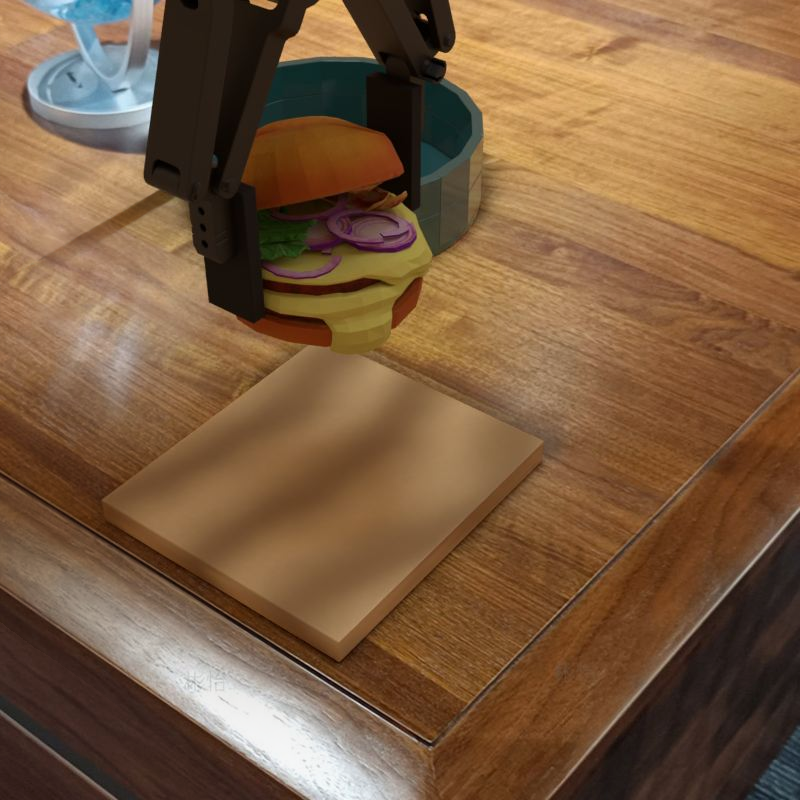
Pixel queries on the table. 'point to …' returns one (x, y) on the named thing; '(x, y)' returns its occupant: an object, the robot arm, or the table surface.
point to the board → (325, 493)
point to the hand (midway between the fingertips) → (319, 252)
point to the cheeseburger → (333, 235)
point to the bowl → (440, 140)
